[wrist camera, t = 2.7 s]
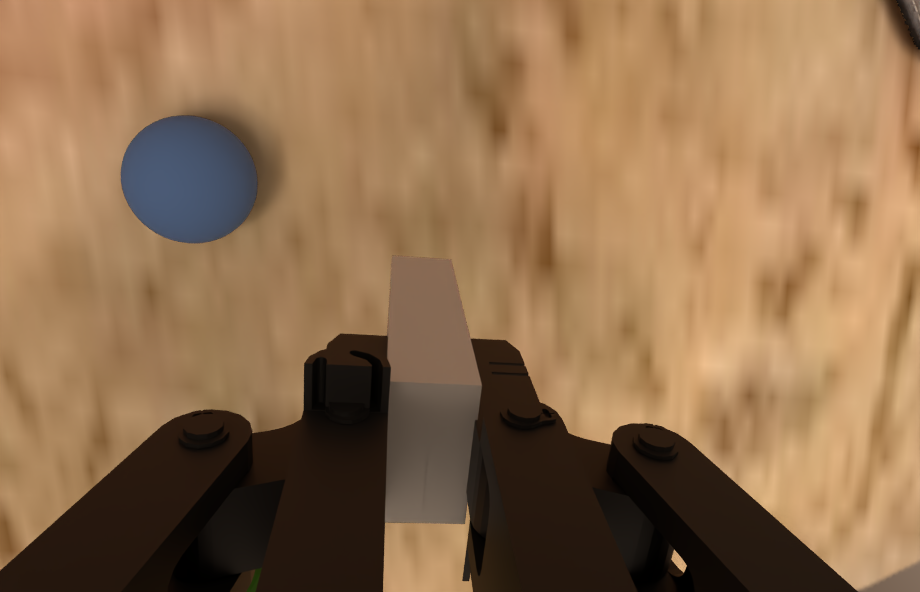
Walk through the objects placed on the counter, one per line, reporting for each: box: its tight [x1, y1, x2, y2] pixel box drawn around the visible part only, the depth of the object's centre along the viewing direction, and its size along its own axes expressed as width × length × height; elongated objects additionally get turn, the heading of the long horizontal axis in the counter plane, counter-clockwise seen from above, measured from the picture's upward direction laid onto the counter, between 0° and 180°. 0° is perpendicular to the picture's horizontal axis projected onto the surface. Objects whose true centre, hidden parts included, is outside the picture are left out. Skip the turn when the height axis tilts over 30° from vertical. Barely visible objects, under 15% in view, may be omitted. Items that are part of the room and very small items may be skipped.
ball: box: [121, 115, 257, 243], centre depth 28 cm, size 6×6×6 cm
